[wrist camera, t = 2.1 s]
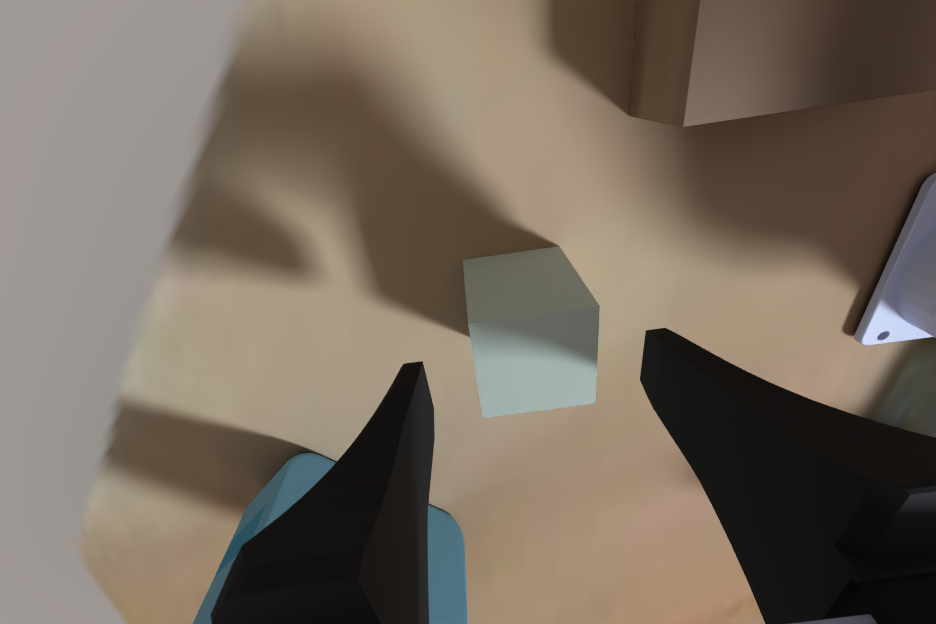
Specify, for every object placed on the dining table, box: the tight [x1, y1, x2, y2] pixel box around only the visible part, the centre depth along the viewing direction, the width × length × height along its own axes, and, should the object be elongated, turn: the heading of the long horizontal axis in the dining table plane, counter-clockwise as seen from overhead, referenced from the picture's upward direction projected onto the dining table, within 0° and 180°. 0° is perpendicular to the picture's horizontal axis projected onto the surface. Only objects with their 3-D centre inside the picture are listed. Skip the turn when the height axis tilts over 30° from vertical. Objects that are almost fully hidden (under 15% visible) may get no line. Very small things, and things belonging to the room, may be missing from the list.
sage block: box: [463, 246, 600, 418], centre depth 15 cm, size 4×4×5 cm
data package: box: [193, 453, 468, 624], centre depth 19 cm, size 12×4×12 cm, turn 50°
